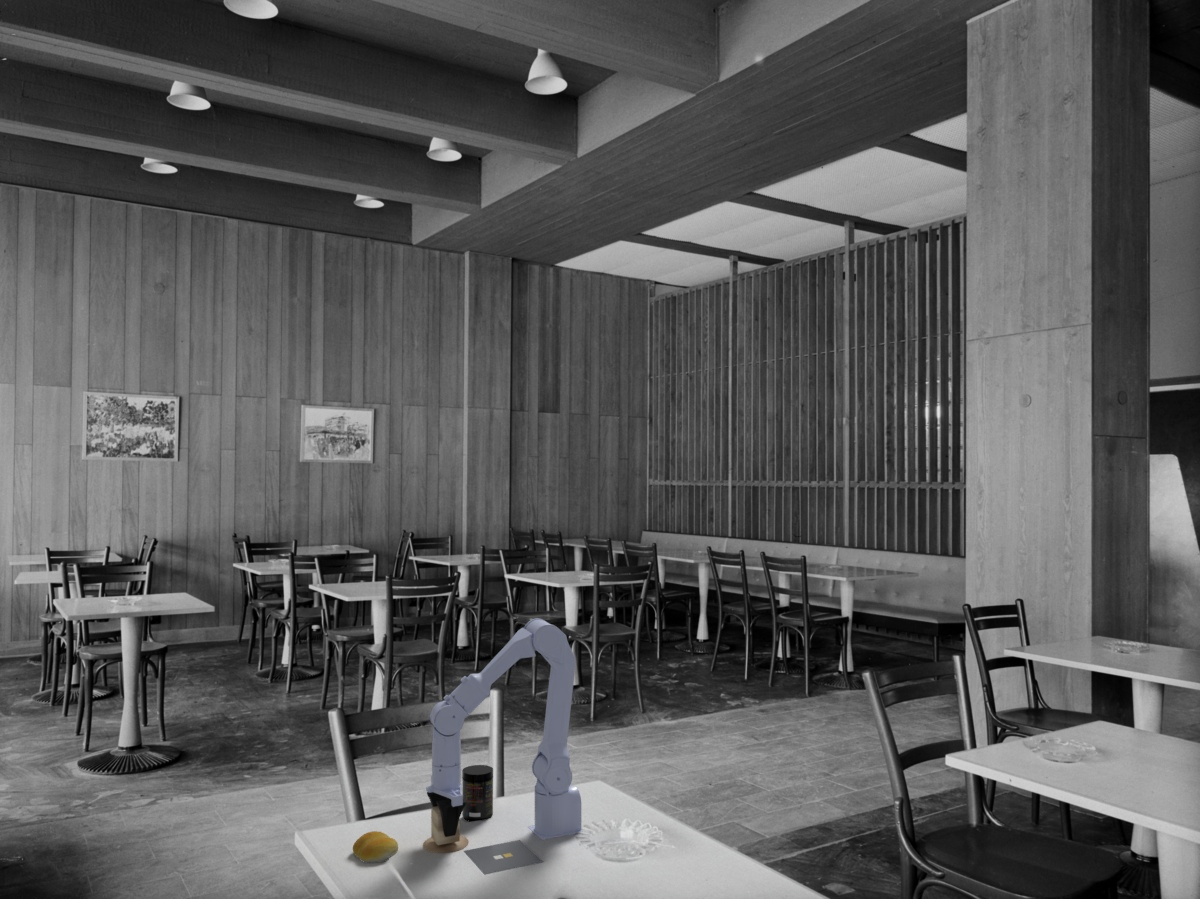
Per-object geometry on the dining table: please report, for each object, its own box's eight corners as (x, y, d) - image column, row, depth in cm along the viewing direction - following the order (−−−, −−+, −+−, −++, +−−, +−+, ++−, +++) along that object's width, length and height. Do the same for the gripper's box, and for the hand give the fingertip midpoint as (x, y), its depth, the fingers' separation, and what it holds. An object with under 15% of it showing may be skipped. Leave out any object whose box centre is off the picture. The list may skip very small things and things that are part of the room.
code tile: (520, 842, 186) (520, 839, 186) (543, 864, 175) (543, 861, 175) (463, 853, 180) (463, 850, 180) (484, 877, 169) (484, 874, 169)
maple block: (452, 833, 187) (452, 803, 187) (459, 841, 182) (459, 810, 183) (431, 837, 184) (431, 807, 185) (437, 845, 180) (437, 814, 181)
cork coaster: (460, 834, 190) (460, 831, 190) (474, 850, 182) (474, 846, 182) (417, 842, 185) (417, 838, 185) (430, 859, 177) (430, 855, 177)
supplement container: (494, 811, 203) (494, 764, 203) (492, 823, 196) (492, 774, 196) (463, 812, 202) (463, 765, 203) (460, 824, 196) (460, 775, 196)
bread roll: (368, 868, 174) (368, 847, 174) (347, 853, 181) (347, 833, 181) (406, 856, 179) (406, 835, 180) (384, 842, 186) (384, 823, 186)
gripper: (416, 756, 189) (416, 822, 188) (437, 776, 176) (437, 847, 175) (449, 751, 192) (449, 816, 191) (472, 770, 179) (472, 841, 179)
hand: (446, 831), depth 184 cm, fingers closed on maple block, 4 cm apart
